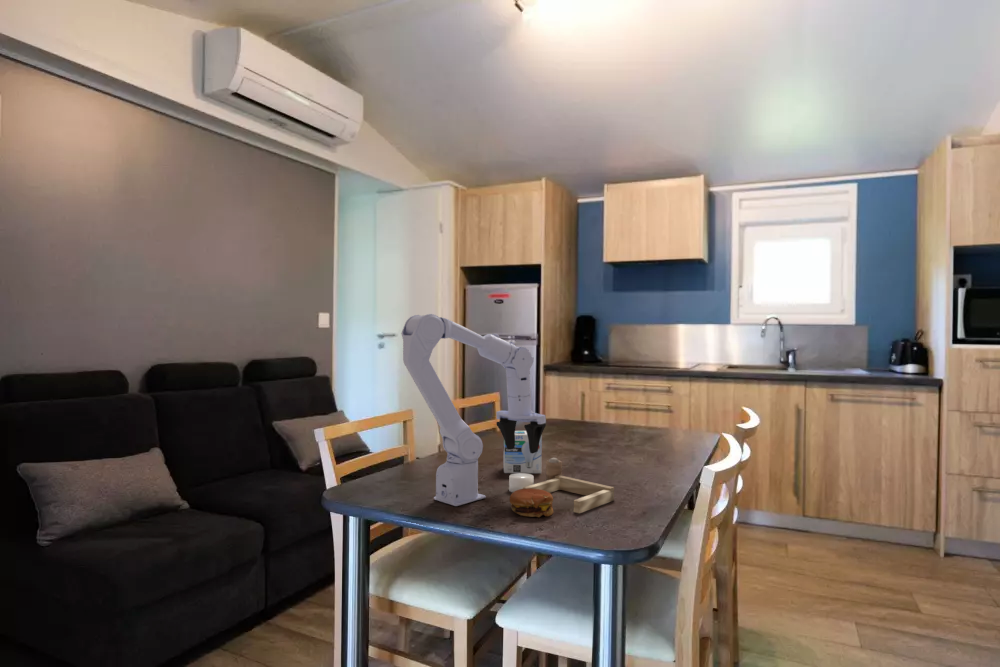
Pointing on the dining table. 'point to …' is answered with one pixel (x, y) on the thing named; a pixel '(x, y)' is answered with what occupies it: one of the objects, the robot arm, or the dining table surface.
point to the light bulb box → (522, 456)
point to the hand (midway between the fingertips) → (522, 450)
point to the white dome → (520, 481)
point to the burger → (532, 502)
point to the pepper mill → (553, 468)
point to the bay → (579, 491)
